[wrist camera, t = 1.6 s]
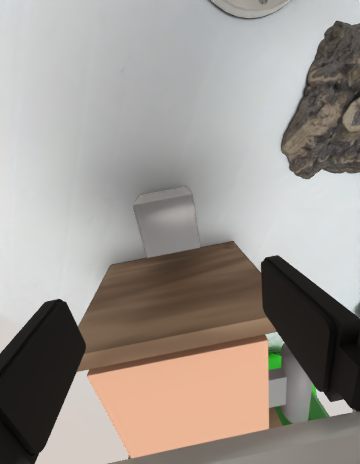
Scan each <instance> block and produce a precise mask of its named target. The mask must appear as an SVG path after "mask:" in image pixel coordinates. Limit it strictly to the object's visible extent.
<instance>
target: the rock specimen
mask: <svg viewBox="0 0 360 464" xmlns="http://www.w3.org/2000/svg"><path fill="white" fill-rule="evenodd" d="M324 35H325V39H324V40H322V41H321V42H320V44H319V47H318V51H317V54H316V56H315V61H314V62H313V64H312V65H311V68H310V71H309V74H308V78H307V84H308V86H307V87H306V89H305V92H304V98H303V100H302V102H301V104H300V107H299V109H298V112H297V113H296V115H295V117H294V119H293V121H292V123H291V124H290V126H289V128H288V130H287V131H286V132H285V133H284V137H283V140H282V153H283V154H285V155H286V156H287V157H288V159H289V162H290V166H289V167H290V170H291V171H293V172H294V173H295V175H296V176H300V177H302V178H303V179H310V178H311V177H313V176H314V175H315V174H316V173H317V172H319V171H320V170H321V169H323V170H326V171H329V172H331V173H343V172H345V171H347V172H349V173H358V172H360V24H356V25H350V24H348V23H343V22H340V21H336V22H335V23H334V25H333V26H332V27H330V28H329V29H327V31H326V32H325V34H324Z"/></svg>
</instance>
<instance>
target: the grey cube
mask: <svg viewBox="0 0 360 464" xmlns="http://www.w3.org/2000/svg"><path fill="white" fill-rule="evenodd" d="M133 208H134V212H135V215H136V219H137V223H138V226H139V230H140V234H141V238H142V241H143V245H144V249H145V252H146V256H147V258H149V257H154V256H159V255H165V254H170V253H175V252H180V251H185V250H190V249H195V248H200V242H199V235H198V229H197V222H196V216H195V209H194V202H193V196H192V193H191V192H190V191H189V190H188V189H187V187H186V186H183V187H178V188H173V189H168V190H162V191H157V192H152V193H147V194H141V195H140V196H139V197H138V199H137V200H136V201H135V203H134V204H133Z"/></svg>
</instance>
